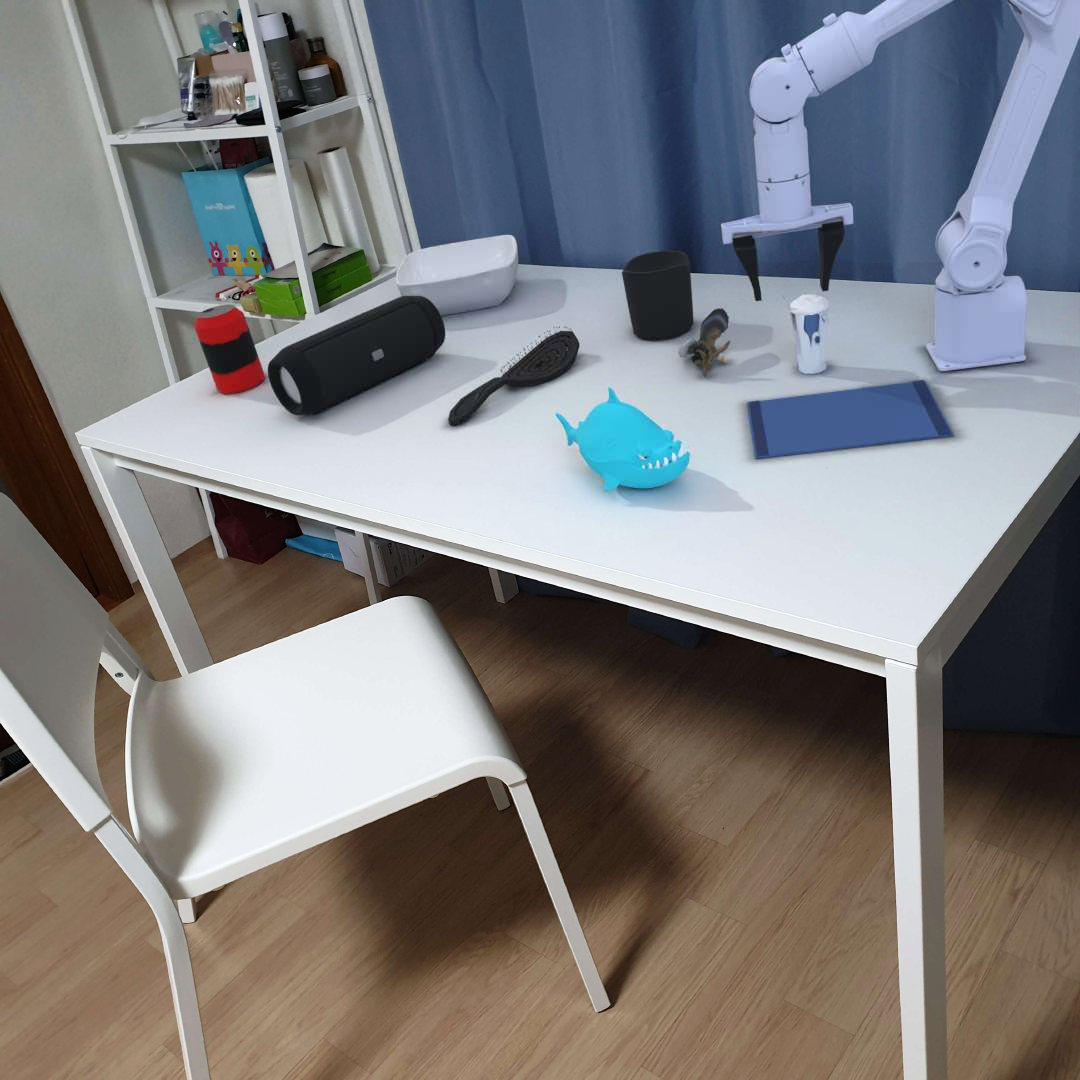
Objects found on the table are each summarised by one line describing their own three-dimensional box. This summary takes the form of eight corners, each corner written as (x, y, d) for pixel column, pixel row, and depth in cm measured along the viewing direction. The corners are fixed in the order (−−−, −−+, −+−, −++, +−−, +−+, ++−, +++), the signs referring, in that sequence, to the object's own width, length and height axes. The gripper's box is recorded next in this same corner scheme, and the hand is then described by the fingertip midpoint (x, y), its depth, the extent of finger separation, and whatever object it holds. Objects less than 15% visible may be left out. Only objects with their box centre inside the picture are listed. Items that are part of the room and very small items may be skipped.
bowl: (523, 309, 169) (514, 262, 165) (401, 330, 171) (389, 285, 168) (526, 272, 187) (518, 229, 183) (415, 292, 189) (405, 251, 185)
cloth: (924, 382, 119) (924, 379, 119) (953, 436, 107) (953, 433, 107) (747, 404, 123) (747, 401, 123) (755, 458, 111) (755, 456, 111)
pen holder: (710, 324, 148) (703, 255, 143) (659, 347, 144) (650, 276, 139) (667, 313, 155) (659, 247, 150) (617, 335, 151) (607, 267, 146)
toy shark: (660, 518, 104) (646, 421, 99) (535, 480, 116) (516, 392, 111) (719, 475, 109) (708, 380, 104) (593, 444, 121) (578, 357, 116)
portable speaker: (314, 427, 142) (292, 359, 137) (277, 414, 149) (255, 349, 144) (455, 357, 155) (440, 293, 150) (416, 349, 162) (400, 286, 157)
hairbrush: (424, 402, 135) (544, 322, 149) (431, 427, 137) (550, 346, 151) (469, 410, 130) (590, 327, 144) (476, 436, 132) (595, 351, 146)
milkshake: (782, 367, 130) (776, 290, 125) (824, 358, 130) (821, 280, 125) (793, 380, 126) (787, 301, 121) (836, 371, 126) (833, 291, 121)
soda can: (244, 373, 168) (219, 301, 162) (275, 376, 163) (250, 303, 157) (208, 392, 163) (180, 319, 157) (238, 396, 158) (212, 321, 152)
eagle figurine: (750, 362, 130) (743, 325, 137) (714, 325, 127) (709, 289, 134) (701, 397, 134) (697, 359, 141) (666, 362, 131) (663, 325, 138)
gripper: (844, 156, 118) (849, 273, 125) (715, 178, 121) (727, 291, 128) (854, 170, 112) (858, 292, 119) (718, 193, 115) (730, 311, 122)
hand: (791, 293), depth 123 cm, fingers open, 7 cm apart
